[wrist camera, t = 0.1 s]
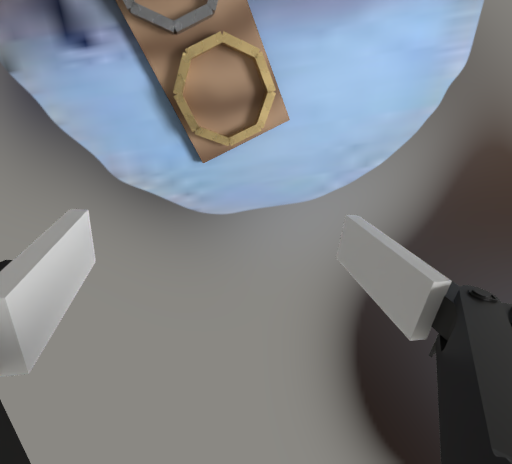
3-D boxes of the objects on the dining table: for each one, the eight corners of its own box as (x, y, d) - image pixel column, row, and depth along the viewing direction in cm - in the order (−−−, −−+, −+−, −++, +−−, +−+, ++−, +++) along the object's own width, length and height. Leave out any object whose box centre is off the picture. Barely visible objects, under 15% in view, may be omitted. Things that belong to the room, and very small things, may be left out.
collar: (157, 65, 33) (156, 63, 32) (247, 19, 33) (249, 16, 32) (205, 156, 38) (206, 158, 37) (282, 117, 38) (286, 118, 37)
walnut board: (72, -82, 28) (67, -89, 27) (192, -143, 28) (192, -153, 27) (202, 161, 40) (203, 163, 39) (287, 119, 40) (289, 119, 39)
